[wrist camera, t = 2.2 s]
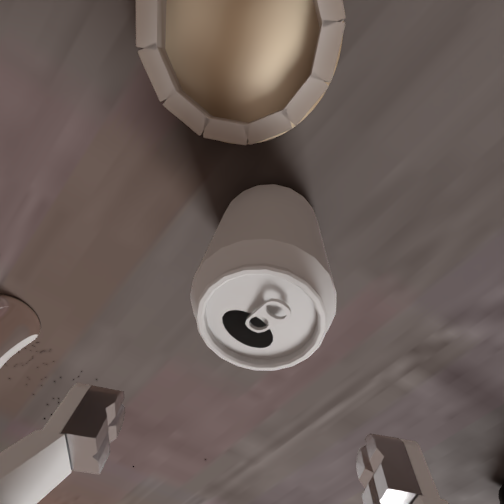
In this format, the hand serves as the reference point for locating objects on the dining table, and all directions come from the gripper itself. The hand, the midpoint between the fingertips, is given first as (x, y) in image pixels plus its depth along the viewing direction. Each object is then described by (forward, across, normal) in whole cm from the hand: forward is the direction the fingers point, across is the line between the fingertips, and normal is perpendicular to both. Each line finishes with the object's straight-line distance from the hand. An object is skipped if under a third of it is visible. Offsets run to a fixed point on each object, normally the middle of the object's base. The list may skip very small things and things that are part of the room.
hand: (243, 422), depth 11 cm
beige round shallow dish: (+17, +4, -12) cm, 21 cm away
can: (+17, 0, 0) cm, 17 cm away
